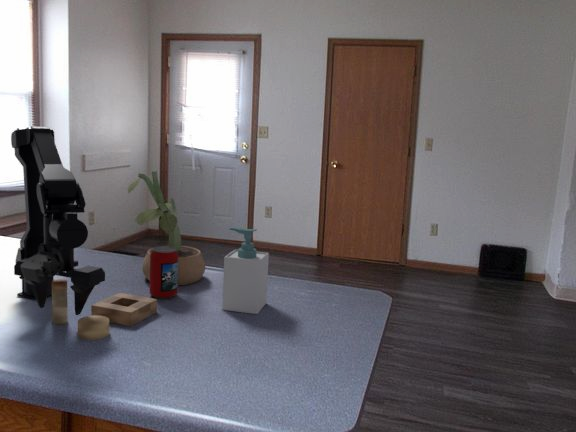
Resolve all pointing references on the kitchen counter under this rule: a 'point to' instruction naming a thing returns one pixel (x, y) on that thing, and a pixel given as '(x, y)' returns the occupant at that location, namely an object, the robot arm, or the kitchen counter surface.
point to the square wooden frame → (125, 308)
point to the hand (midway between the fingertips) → (59, 311)
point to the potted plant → (170, 234)
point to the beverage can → (163, 272)
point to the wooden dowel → (59, 302)
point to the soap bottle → (245, 277)
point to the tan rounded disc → (93, 327)
